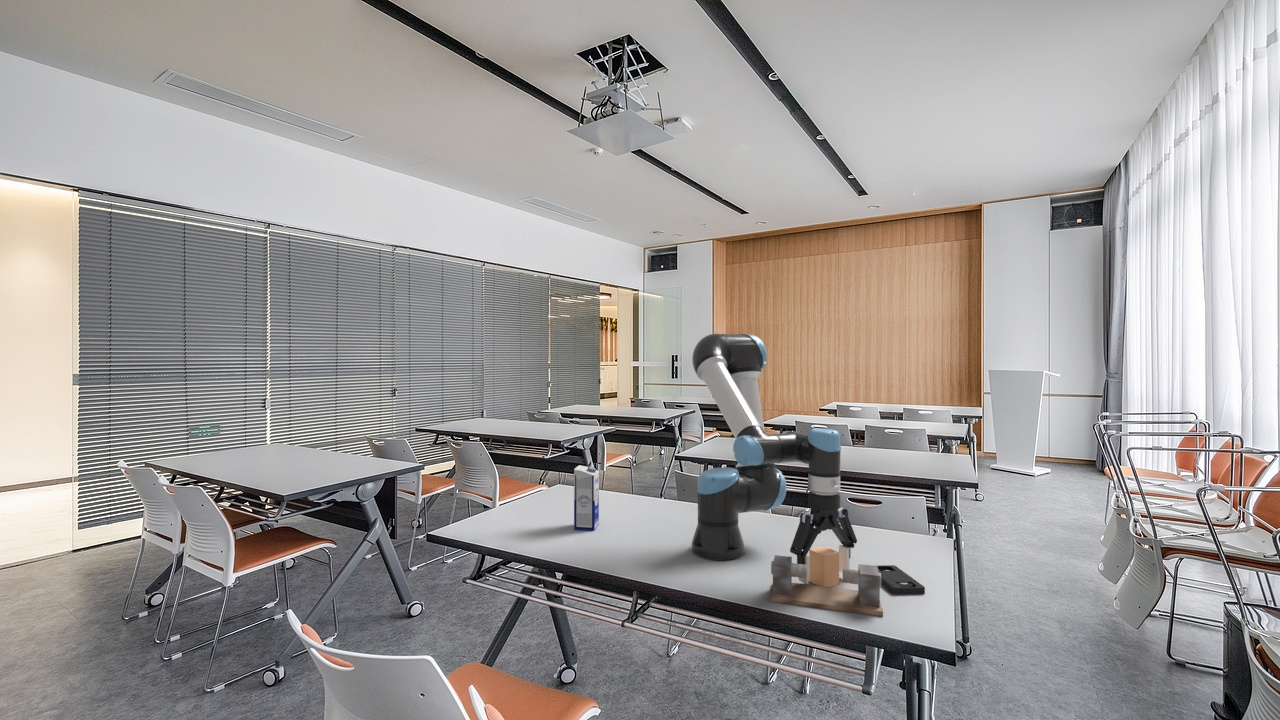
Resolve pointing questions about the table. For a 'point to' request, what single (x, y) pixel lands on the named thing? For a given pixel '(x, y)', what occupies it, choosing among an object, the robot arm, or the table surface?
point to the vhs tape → (899, 581)
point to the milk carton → (586, 498)
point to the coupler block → (824, 566)
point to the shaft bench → (827, 588)
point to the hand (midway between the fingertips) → (824, 577)
